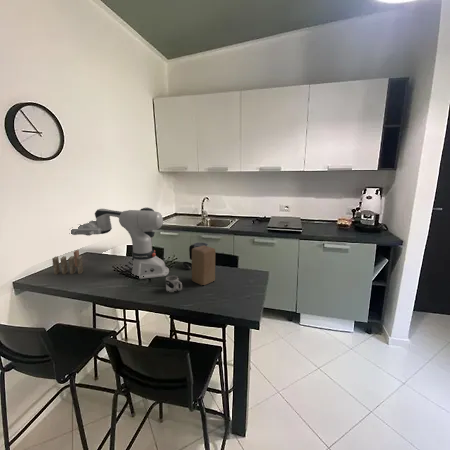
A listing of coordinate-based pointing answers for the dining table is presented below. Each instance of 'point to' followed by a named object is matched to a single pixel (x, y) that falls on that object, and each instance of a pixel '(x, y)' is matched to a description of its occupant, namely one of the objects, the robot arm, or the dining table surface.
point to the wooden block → (203, 265)
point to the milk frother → (191, 254)
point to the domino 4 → (76, 257)
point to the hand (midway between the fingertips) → (81, 233)
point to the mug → (173, 284)
